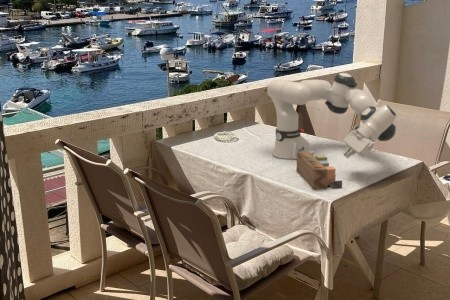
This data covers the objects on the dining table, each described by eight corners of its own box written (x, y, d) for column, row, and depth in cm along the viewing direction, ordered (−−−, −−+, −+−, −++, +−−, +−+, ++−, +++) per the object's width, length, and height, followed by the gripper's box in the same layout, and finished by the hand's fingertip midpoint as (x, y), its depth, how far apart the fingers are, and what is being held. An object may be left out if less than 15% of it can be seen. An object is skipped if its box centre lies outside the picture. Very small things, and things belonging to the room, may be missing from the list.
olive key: (323, 169, 279) (324, 154, 276) (326, 172, 275) (327, 157, 273) (314, 170, 278) (315, 155, 276) (317, 173, 274) (318, 157, 272)
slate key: (325, 175, 270) (326, 160, 268) (328, 178, 266) (329, 163, 264) (316, 176, 270) (317, 160, 267) (319, 179, 266) (319, 163, 264)
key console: (322, 168, 281) (323, 150, 279) (341, 187, 256) (343, 167, 254) (296, 170, 279) (297, 151, 276) (313, 189, 254) (314, 169, 252)
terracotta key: (331, 182, 262) (332, 166, 260) (334, 185, 258) (335, 169, 256) (322, 182, 262) (323, 166, 259) (325, 185, 258) (326, 169, 256)
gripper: (380, 145, 256) (358, 168, 257) (362, 133, 275) (341, 154, 277) (371, 136, 254) (349, 159, 255) (354, 124, 273) (333, 145, 275)
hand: (345, 156), depth 266 cm, fingers closed
